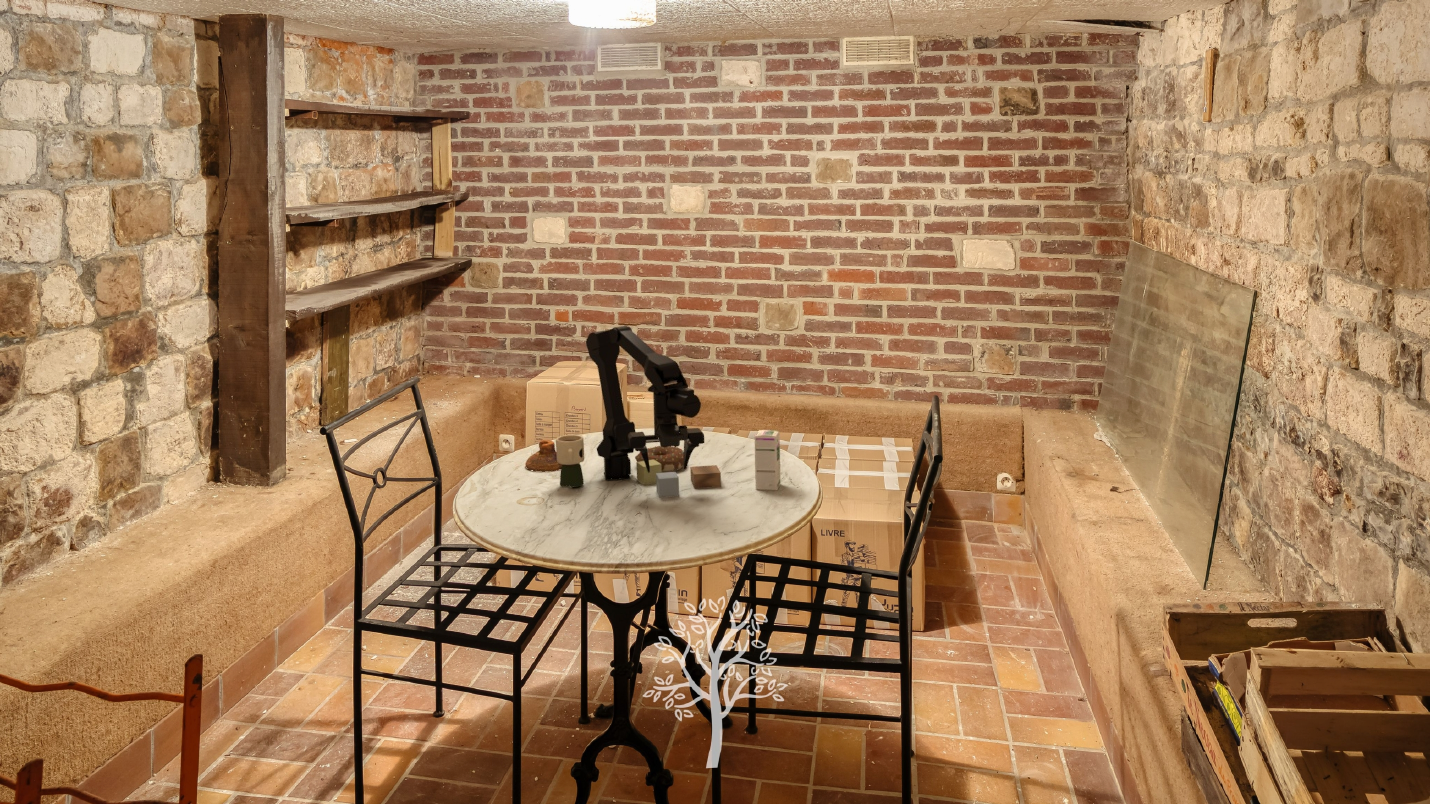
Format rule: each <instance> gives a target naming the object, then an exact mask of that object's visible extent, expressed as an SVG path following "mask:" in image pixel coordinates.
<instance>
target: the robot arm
mask: <svg viewBox="0 0 1430 804" xmlns="http://www.w3.org/2000/svg"><path fill="white" fill-rule="evenodd" d="M585 345H586V348H587V352H588V356H589V357H590V359H591V360H592V361H593V363H595V365H596V367H597V373H598V377H599V382H600V383H599V384H600V388H601V395H602V401H603V405H604V412H605V417H606V418H605V419H606V420H605V423H604V426H603V429H602V438H603V439H602V440H601V442H599V444H598V446H597V447H596V452H597V456H598V457H600V458H601V457H602V458H603V466H604V467H603V468H604V469H603V470H604V471H603V476H604V479H605V481H613V480H615V481H616V480H625V479H626V480H627V479H628V480H629V479H631V474H632V469H631V467H632V465H631V463H632V461H631V458H630V457H629V454H633V453H634V452H639V453H641V455H642V457H643V460H644V463H645V465H646V468H647V471H648V473H650V465H649V459H648V450H647V449H648V447H647V444H651V443H659V446H661V447H669V446H671V447H679V446H680V444H681V441H683V452H684V455H683V467H682V468H683V470H684V471H686V470H687V467H688V464H689V461H690V458H691V455H692V453H693V451H694V450H695V449H696V448H698V447H700V445H701V444H702V445H703V444H705V434H704V432H703V431H702V429H700V428H699V427H693V428H692V427H691V428H688V426H687V425H686V424H685V425H679V424H678V416H680V417H686V418H689V419H690V418H691V419H693V418H695V417H696V416H698V415H699V413H700V411H701V408H702V407H701V406H702V403H701V401H700V398H699V396H698V395H696V394H695V390H694V389H692V388H689V384H688V382H687V379H686V377H684V375H683V372H682V370H681V368H680V366H679V363H678V362H677V361H676V360H674V359H673V358H670V357H669V356H667V355H663V354H659V353H658V352H656V351H655V350H654V349H653V348H651V346H650V345H648V344H647V343H646V342H645V341H644V340H643V339H642V338H640V337H639V336H638V335H637V334H636V333H635V332H634V331H633V330H632V328H631V327H630V326H627V325H622V326H621V325H620V326H615V327H613V328H611V329H606V330H605V329H604V330H599V331H592V332H590V333H589V334H588V336H587V338H586V339H585ZM621 348H622V349H623V351H625V352H626V354H628V355H629V356H630V357H632V359H634V361H636V362H637V363H638V364H639V365H640V366H641V368H642V369H643V373H644V376H645V378H646V379H647V380H648V382H650V383H651V385H650V386H649V387H648V388H647V391H648V392H649V393H652V396H653V401H652V402H653V431H654V433H653V434H647V435H646V434H645V432H644V431H636V427H635V426H636V424H635V422H634V421H630V420H629V419H628V418H627V416H626V413H625V407H624V402H623V397H622V390H621V384H620V383H621V382H620V378H619V374H618V367H617V366H618V365H617V361H618V358H619V356H620V352H621V350H620V349H621Z"/></svg>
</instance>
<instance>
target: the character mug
mask: <svg viewBox="0 0 1430 804" xmlns="http://www.w3.org/2000/svg"><path fill="white" fill-rule="evenodd" d="M584 441H585V440H584V436H582V435H579V434H565V435H561V436H557V437H556V439H555V451H556V453H557V462H558V463H560V464H562V466H561V469H560V474H559V477H560V478H559V479H560V480H559V486H561V487H570V488H576V487H581V486H583V485H584V484H585V482H584V476H583V474H584V473H583V469H582V465H581V463H583V462H584V461H585V446H584Z"/></svg>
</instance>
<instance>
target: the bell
mask: <svg viewBox="0 0 1430 804" xmlns="http://www.w3.org/2000/svg"><path fill="white" fill-rule="evenodd" d="M538 448H539V450H538V451H536V452H535V453H533V454H532V455H530V456H529V457H528V458H527V459H526V461H525V463H524V464H525V468H526V467H527V468H528V469H530V470H529V471H531V470H533V471H532V472H536V471H542V472H541V473H546V472H545V471H551V472H556V470H557V471H560V470H561V466H562V464H560V463H558V462H557V453H556V443H555V442H554V441H553V440H541V441H539V443H538ZM527 468H526V469H527ZM528 469H527V470H528ZM559 469H560V470H559Z"/></svg>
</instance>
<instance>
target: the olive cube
mask: <svg viewBox="0 0 1430 804" xmlns="http://www.w3.org/2000/svg"><path fill="white" fill-rule="evenodd" d="M635 464H636V480H637V482H639V483H641V484H642V485H644V486H646V485H651V484H652V485H653V484H656V473H662V470H661V464H660V463H659V462H657V461H655V460H654V459H653V460H649V465H650V473H648V471H647V468H646V465H645V463H644V461H640V462H637V461H636V463H635Z"/></svg>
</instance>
